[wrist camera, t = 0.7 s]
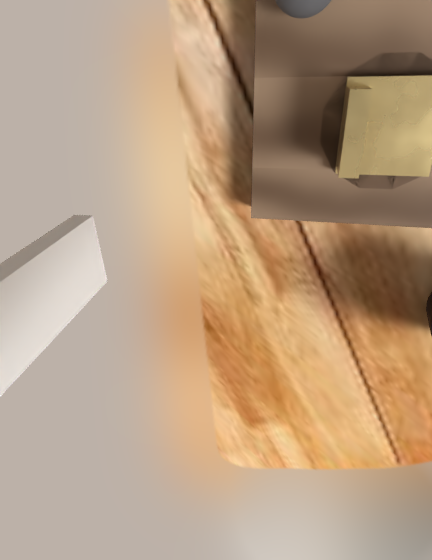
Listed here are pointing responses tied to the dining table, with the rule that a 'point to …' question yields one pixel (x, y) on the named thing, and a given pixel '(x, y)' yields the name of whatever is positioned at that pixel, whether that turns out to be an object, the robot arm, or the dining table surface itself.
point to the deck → (331, 110)
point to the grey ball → (302, 7)
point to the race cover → (386, 126)
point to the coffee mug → (429, 311)
